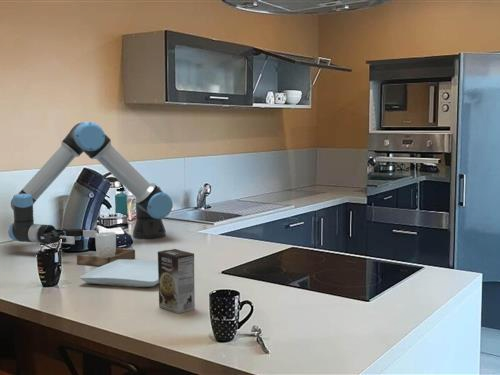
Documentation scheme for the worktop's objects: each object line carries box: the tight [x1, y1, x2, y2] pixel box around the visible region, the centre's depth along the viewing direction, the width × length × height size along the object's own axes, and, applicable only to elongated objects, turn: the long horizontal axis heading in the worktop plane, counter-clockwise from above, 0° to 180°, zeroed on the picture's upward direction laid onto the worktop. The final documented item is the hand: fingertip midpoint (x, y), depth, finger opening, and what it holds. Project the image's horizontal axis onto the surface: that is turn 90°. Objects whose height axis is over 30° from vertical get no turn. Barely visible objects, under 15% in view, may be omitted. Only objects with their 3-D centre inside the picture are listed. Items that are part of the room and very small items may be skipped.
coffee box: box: [157, 248, 196, 315], centre depth 167 cm, size 9×6×16 cm
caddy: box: [76, 247, 136, 267], centre depth 228 cm, size 15×16×4 cm
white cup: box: [94, 231, 117, 257], centre depth 227 cm, size 8×8×10 cm
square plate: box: [79, 259, 159, 288], centre depth 202 cm, size 27×27×4 cm
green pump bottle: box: [114, 186, 129, 218], centre depth 310 cm, size 6×7×20 cm
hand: (85, 237), depth 231 cm, fingers open, 13 cm apart
